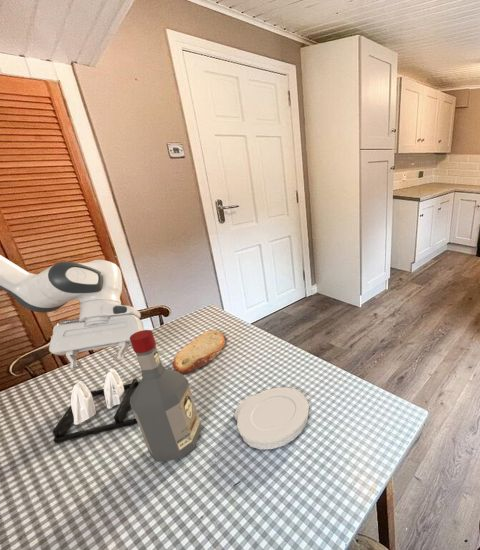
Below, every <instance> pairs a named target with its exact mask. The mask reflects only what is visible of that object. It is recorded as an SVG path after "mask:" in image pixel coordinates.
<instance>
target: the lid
mask: <svg viewBox="0 0 480 550" xmlns="http://www.w3.org/2000/svg"><path fill="white" fill-rule="evenodd" d="M309 406H310V405H309V402H308V399H307V397H306V396H305V395H304V394H303V392H300V391H299V390H298V389H295V388H291V387H288V386H287V387H285V386H283V387H273V388H270V389H266V390H264V391H262V392H259V393H255V394H253V395H250V396H247V398H245V399H243V400H242V401H241V402H240V403H239V404H238V405H237V407H236V408H235V411H234V414H233V417H234V419H235V420H236V422H237V423H236V427H237V430H238V433H239V436H241V438H242V440H243V442H245V443H246V444H247V445H248V447H251V448H254V449H258V450H274V449H278V448H281V447H283V446H285V445H287V444H289V443H291V442H292V441H294V440H295V439H296V438H297V437H298V436H299V435H300V434H301V433H302V432H303V431H304V429H305V427H306V425H307V423H308V417H309V411H310V407H309Z"/></svg>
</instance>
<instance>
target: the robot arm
mask: <svg viewBox="0 0 480 550" xmlns="http://www.w3.org/2000/svg"><path fill="white" fill-rule="evenodd" d="M0 289H1V290H3V291H4V292H6V293H7V294H9V295H10V296H11V297H12V298H13V299H14V300H15V301H16V302H17V303H18V304H19V305H20V306H21V307H23V308H25V309H26V310H29V311H32V312H35V313H51V312H54V311H57V310H59V309H60V308H62V307H64V306H65V305H66V304H67V303H69V302H71V301H78V302H79V303H80V306H79V316H78V318H72V319H64V320H61V321H60V322H57V324H55V325H54V326H53V329H52V335H51V339H50V343H49V347H48V351H49V352H50V353H51V354H53V355H56V356H65V357H66V358H67V360H68V361H69V362H70V366H69V367H70V369H71V370H78V369H81V368H82V361H81V360H77V358H76V357H78V355H79V354H78V353H82V352H88V351H93V350H94V351H95V350H99V349H104V348H105V349H106V348H110V347H116V346H119V347H120V348H119V350H118V352H117V353H114V354H113V361H114V362H119V361H124V357H125V356H124V355H125V353H126V352H127V351H128V349H129V347H130V344H131V341H130V336H131V335H133V334H134V333H136V332H139V331H143V330H145V327H144V322H143V321H142V319H141V316H142V313H141V312H140V311H139V310H138V309H136V308H134V307H133V306H130V305H123V304H122V301H121V295H122V293H123V276H122V271H121V269H120V267H119V266H118V265H117V264H116V263H114V262H112V261H109V260H106V259H105V260H104V259H93V260H89V261H85V262H74V261H61V262H57V263H55V264H53V265H51V266H49V267H48V268H46V269H44V270H42V271H41V272H40V273H31V272H29V271H27V270H26V269H24V268H22V267H21V266H19V265H18V264H16V263H14V262H13V261H11V260H9V259H8V258H6V257H4V256H3V255H1V254H0Z"/></svg>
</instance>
